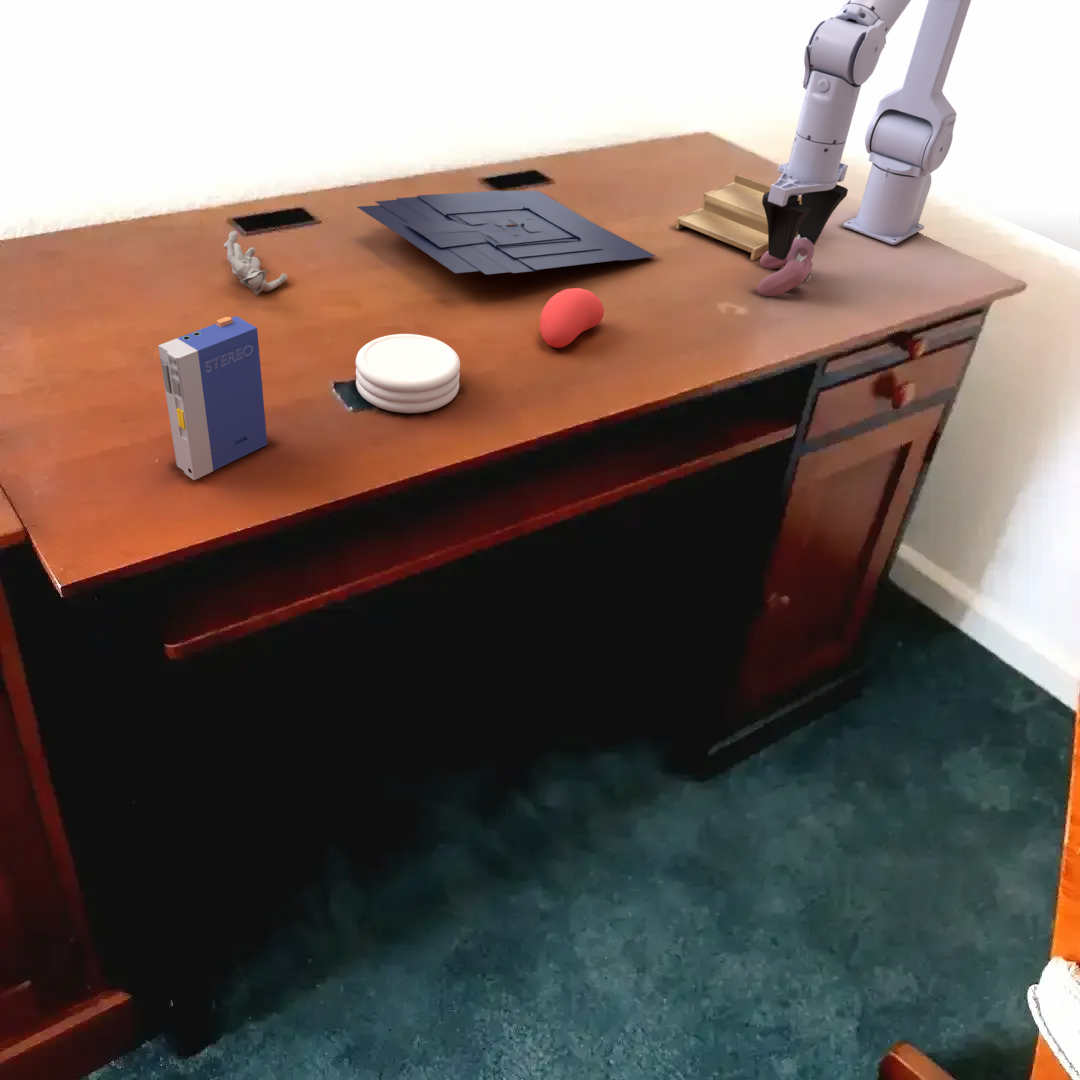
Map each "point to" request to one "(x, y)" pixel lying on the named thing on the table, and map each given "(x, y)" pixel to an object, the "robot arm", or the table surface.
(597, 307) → the red kidney bean
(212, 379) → the walkman
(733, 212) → the step shelf
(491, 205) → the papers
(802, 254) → the video game controller
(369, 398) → the coaster
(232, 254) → the soldier figure
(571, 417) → the table surface
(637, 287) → the table surface
